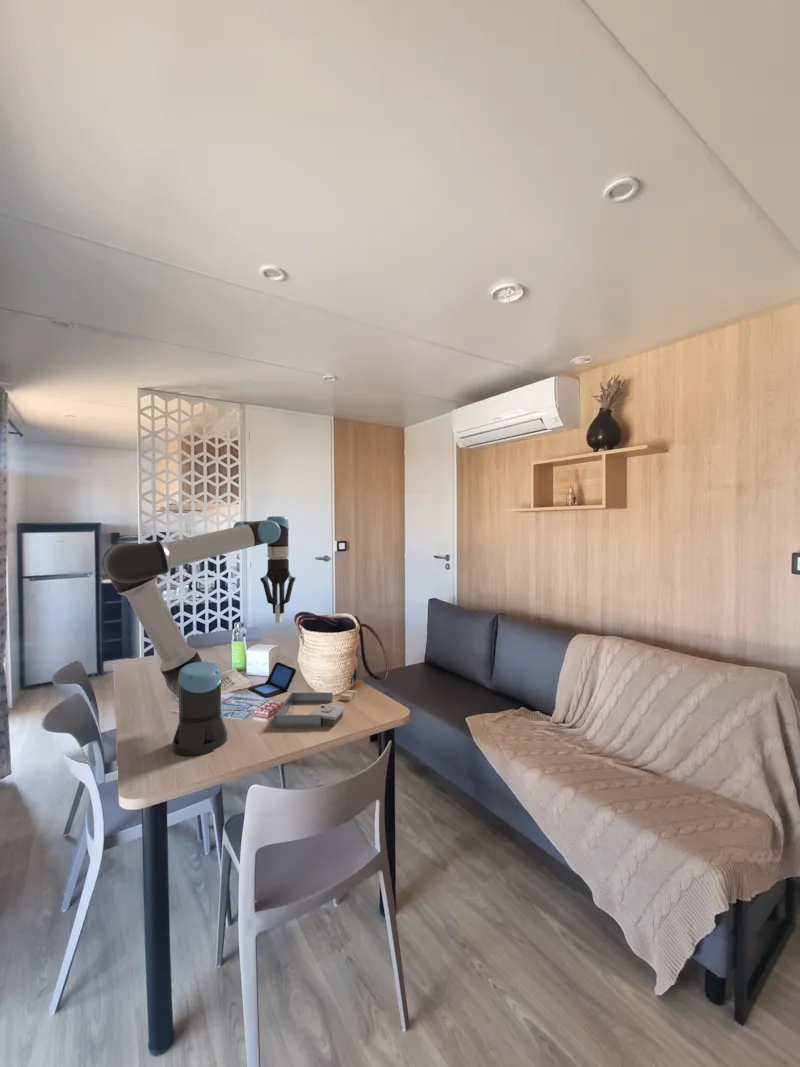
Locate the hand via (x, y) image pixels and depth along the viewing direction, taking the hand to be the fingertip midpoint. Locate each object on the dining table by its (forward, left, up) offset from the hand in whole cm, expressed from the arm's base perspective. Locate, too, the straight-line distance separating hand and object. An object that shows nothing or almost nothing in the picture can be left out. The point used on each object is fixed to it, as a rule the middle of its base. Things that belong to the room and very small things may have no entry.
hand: (278, 622), depth 166 cm
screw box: (+5, -25, -31) cm, 40 cm away
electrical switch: (-14, -16, -31) cm, 38 cm away
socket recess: (-9, -12, -30) cm, 34 cm away
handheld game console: (+15, +8, -31) cm, 35 cm away
